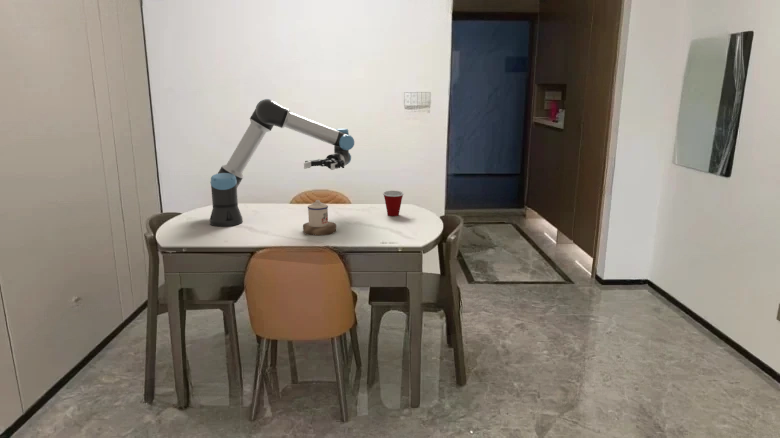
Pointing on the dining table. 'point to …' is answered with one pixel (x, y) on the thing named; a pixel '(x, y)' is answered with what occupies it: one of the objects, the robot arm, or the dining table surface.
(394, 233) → the dining table surface
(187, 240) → the dining table surface
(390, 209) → the plastic cup
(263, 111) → the robot arm
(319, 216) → the teacup with lid
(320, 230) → the brown round disc
